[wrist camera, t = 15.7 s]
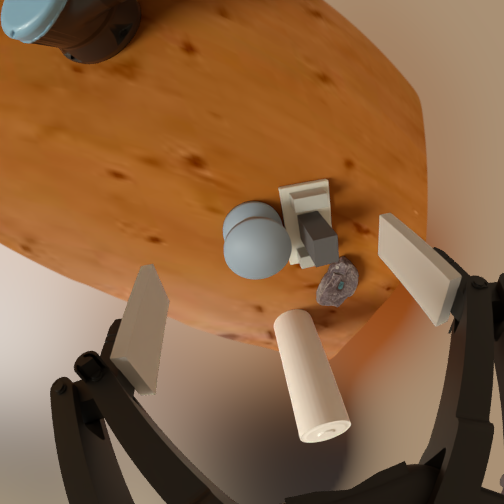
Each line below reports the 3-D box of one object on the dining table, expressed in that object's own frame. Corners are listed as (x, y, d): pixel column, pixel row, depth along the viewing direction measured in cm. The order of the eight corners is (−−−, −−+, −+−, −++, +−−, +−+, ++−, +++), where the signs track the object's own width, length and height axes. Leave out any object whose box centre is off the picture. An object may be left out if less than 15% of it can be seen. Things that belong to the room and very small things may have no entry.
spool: (216, 208, 50) (216, 228, 43) (276, 195, 50) (287, 213, 43) (230, 259, 56) (232, 285, 49) (284, 247, 56) (295, 271, 49)
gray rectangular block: (297, 215, 51) (313, 240, 43) (317, 210, 51) (337, 234, 43) (300, 238, 54) (316, 267, 45) (320, 234, 54) (338, 261, 45)
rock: (361, 258, 60) (370, 270, 56) (340, 299, 65) (347, 311, 61) (330, 252, 58) (338, 263, 54) (311, 294, 63) (316, 307, 59)
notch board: (278, 187, 49) (284, 195, 45) (326, 178, 49) (335, 186, 45) (289, 261, 58) (294, 274, 54) (330, 252, 58) (338, 264, 54)
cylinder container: (313, 307, 65) (357, 417, 39) (309, 334, 70) (344, 437, 44) (274, 311, 64) (304, 430, 38) (273, 339, 69) (298, 448, 43)
